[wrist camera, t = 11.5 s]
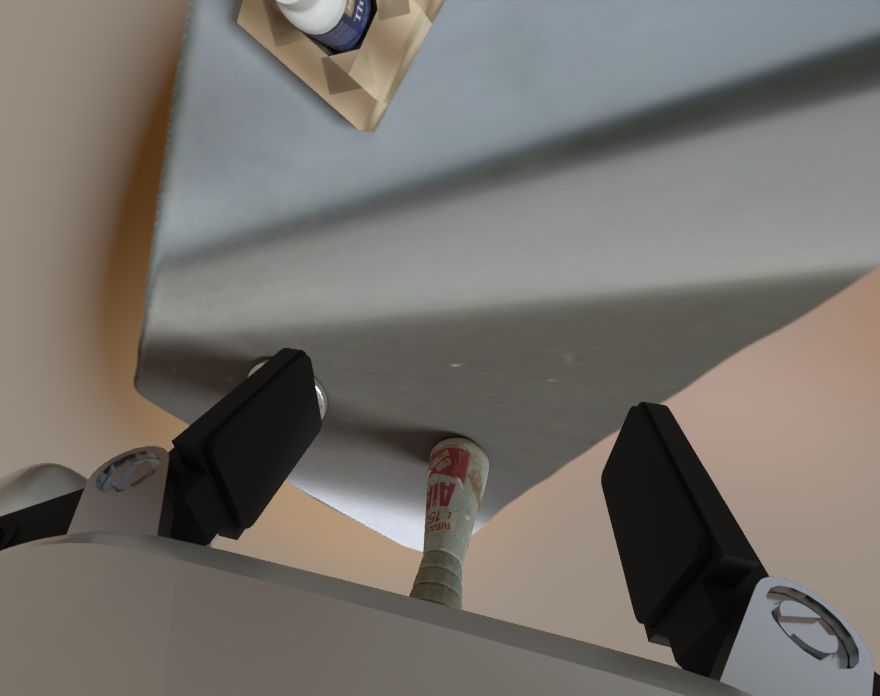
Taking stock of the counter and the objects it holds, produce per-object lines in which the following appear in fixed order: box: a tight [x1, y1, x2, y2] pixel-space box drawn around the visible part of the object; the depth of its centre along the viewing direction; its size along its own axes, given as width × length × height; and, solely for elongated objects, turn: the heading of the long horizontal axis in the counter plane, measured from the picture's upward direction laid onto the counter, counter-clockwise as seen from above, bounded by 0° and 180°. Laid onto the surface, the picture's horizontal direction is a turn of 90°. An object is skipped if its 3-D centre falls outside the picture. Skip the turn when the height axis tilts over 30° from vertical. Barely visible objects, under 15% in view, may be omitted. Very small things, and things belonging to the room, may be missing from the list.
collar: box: [237, 0, 445, 132], centre depth 26 cm, size 12×12×4 cm
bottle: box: [409, 437, 489, 610], centre depth 39 cm, size 9×9×28 cm
